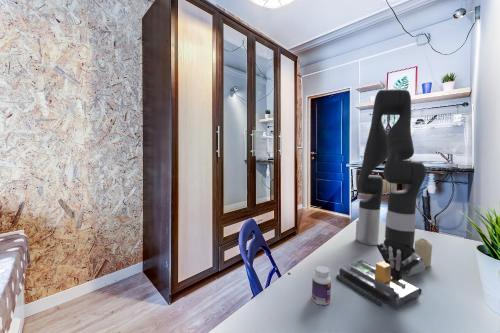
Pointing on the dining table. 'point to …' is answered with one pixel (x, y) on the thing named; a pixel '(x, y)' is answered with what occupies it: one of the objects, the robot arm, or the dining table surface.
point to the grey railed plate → (364, 291)
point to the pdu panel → (379, 285)
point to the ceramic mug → (416, 269)
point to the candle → (424, 251)
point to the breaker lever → (383, 271)
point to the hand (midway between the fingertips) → (396, 279)
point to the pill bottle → (321, 285)
